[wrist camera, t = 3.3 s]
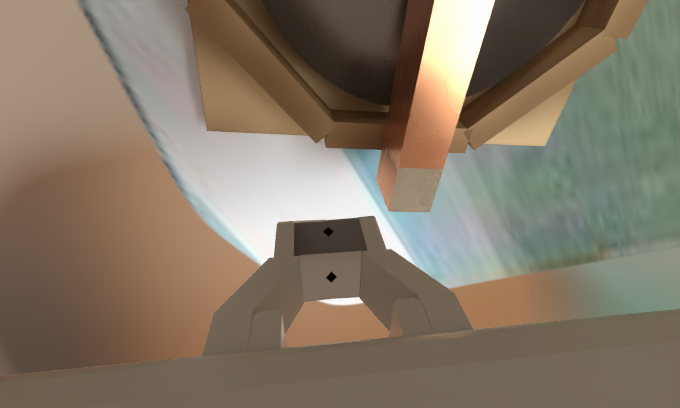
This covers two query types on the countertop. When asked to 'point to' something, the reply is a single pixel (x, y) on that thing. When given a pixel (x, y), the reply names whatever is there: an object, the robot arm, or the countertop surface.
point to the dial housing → (370, 118)
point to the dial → (417, 68)
